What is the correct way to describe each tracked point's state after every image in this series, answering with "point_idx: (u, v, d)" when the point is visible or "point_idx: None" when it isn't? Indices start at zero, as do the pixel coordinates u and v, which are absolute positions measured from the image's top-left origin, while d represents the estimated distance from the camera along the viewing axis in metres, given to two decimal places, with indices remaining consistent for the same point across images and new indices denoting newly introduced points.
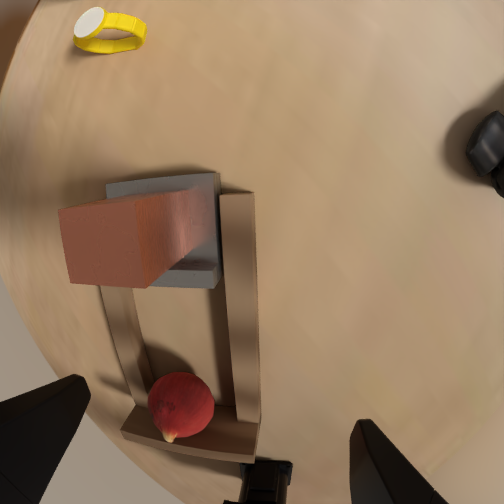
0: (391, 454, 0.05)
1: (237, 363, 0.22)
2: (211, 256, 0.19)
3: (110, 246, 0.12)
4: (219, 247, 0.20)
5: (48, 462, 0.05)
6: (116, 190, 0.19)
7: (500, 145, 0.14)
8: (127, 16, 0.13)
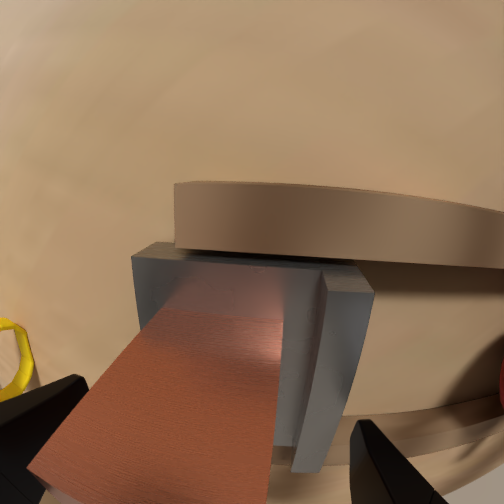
0: (391, 454, 0.05)
1: None
2: (304, 282, 0.08)
3: None
4: (289, 261, 0.09)
5: None
6: None
7: None
8: None
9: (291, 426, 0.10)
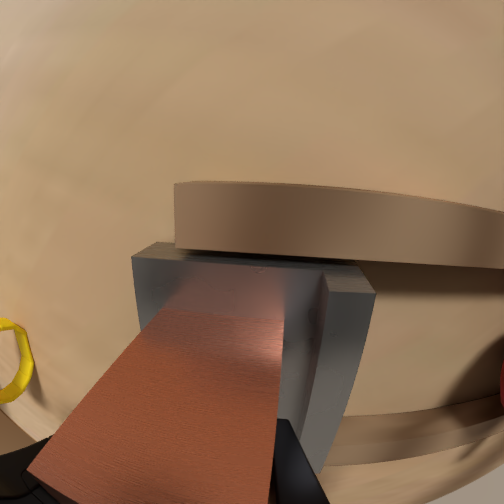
0: (295, 459, 0.05)
1: None
2: (305, 283, 0.08)
3: None
4: (290, 261, 0.09)
5: None
6: None
7: None
8: None
9: None
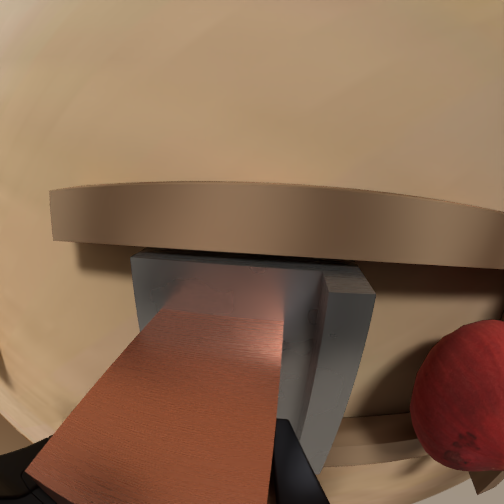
0: (294, 459, 0.05)
1: (413, 250, 0.08)
2: (304, 284, 0.08)
3: None
4: (290, 262, 0.09)
5: None
6: None
7: None
8: None
9: None
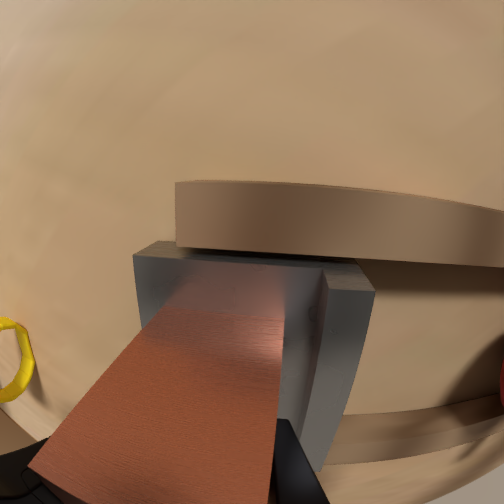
0: (295, 459, 0.05)
1: None
2: (305, 281, 0.08)
3: None
4: (290, 260, 0.09)
5: None
6: None
7: None
8: None
9: (292, 425, 0.10)
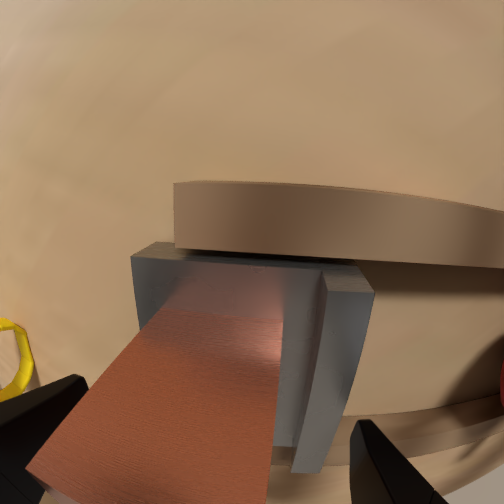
0: (391, 454, 0.05)
1: None
2: (304, 282, 0.08)
3: None
4: (289, 261, 0.09)
5: None
6: None
7: None
8: None
9: (291, 426, 0.10)
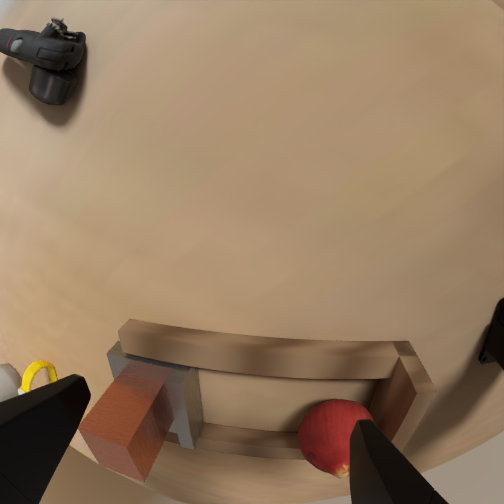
0: (391, 454, 0.05)
1: (291, 372, 0.18)
2: (167, 371, 0.19)
3: (107, 451, 0.14)
4: (164, 361, 0.20)
5: (47, 461, 0.05)
6: None
7: (41, 78, 0.14)
8: (24, 374, 0.21)
9: None
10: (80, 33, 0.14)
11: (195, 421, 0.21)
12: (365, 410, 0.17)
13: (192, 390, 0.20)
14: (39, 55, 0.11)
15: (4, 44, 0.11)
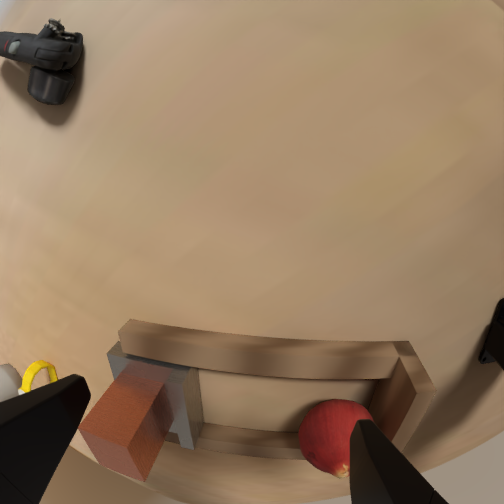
0: (391, 454, 0.05)
1: (291, 373, 0.18)
2: (168, 371, 0.19)
3: (108, 451, 0.14)
4: None
5: (47, 462, 0.05)
6: None
7: (39, 79, 0.14)
8: (25, 374, 0.21)
9: None
10: (78, 34, 0.14)
11: (195, 421, 0.21)
12: (365, 410, 0.17)
13: (192, 390, 0.20)
14: (37, 55, 0.11)
15: (2, 46, 0.12)
